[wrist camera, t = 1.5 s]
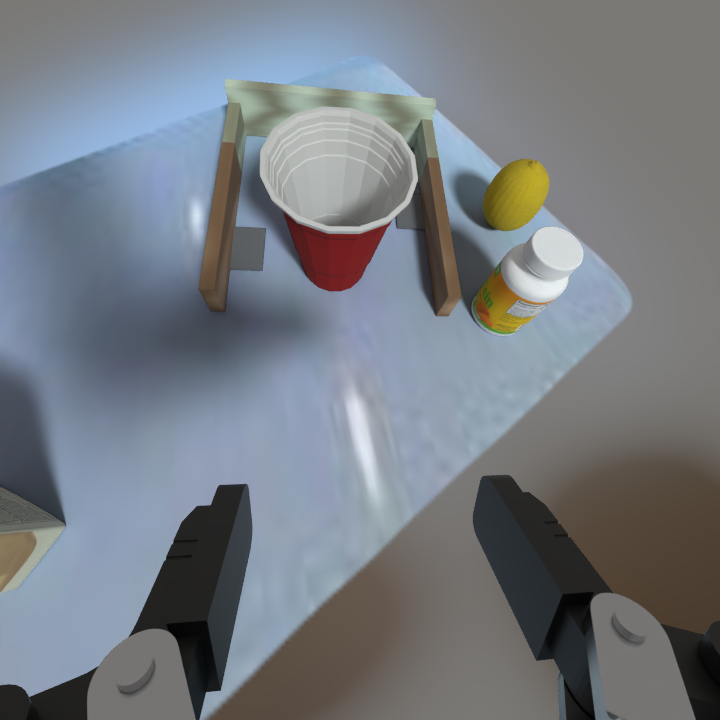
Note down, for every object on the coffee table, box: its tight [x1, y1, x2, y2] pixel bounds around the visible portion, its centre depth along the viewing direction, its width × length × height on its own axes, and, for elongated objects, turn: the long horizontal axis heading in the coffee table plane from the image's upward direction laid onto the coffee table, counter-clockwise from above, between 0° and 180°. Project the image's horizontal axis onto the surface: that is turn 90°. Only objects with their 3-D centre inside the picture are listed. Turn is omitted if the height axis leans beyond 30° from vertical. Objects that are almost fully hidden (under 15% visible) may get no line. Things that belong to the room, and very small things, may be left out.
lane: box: [199, 79, 462, 316], centre depth 35 cm, size 22×24×5 cm
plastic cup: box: [260, 107, 418, 291], centre depth 29 cm, size 11×11×12 cm
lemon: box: [483, 159, 549, 231], centre depth 35 cm, size 6×6×8 cm
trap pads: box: [229, 193, 425, 271], centre depth 36 cm, size 22×6×1 cm, turn 112°
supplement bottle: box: [471, 227, 583, 336], centre depth 30 cm, size 5×5×10 cm
